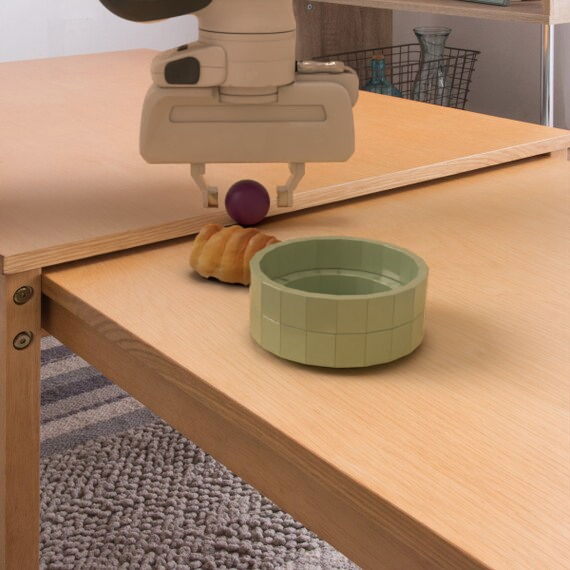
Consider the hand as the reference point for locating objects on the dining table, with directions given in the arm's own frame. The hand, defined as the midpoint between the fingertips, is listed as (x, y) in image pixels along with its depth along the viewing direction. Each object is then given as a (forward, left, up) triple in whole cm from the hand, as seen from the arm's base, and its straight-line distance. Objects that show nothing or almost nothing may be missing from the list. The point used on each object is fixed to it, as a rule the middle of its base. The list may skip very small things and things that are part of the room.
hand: (247, 206), depth 90 cm
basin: (+5, -26, -2) cm, 27 cm away
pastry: (-1, -13, -2) cm, 13 cm away
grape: (0, 0, 0) cm, 0 cm away
